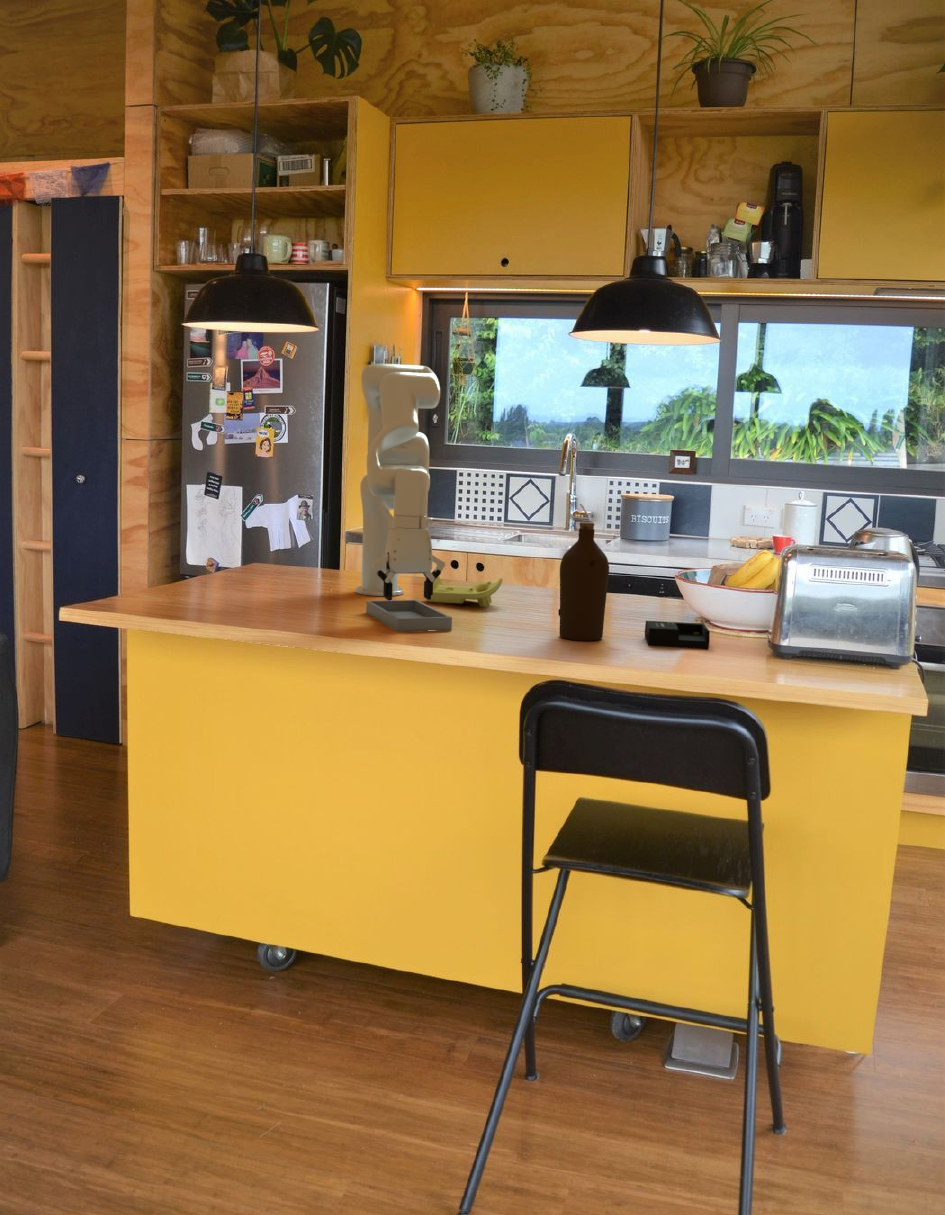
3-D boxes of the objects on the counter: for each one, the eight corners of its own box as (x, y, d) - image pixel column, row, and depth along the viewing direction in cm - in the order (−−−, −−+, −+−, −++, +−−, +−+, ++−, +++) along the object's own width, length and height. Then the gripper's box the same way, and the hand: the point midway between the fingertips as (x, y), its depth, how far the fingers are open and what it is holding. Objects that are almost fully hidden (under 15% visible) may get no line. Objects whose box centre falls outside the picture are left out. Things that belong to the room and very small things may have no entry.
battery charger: (647, 646, 242) (648, 628, 241) (644, 638, 252) (645, 620, 251) (709, 649, 241) (710, 631, 241) (703, 641, 251) (704, 623, 250)
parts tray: (366, 613, 267) (366, 600, 267) (416, 612, 272) (416, 599, 271) (397, 632, 245) (397, 618, 244) (451, 630, 249) (451, 617, 249)
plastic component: (419, 591, 286) (438, 571, 293) (426, 616, 289) (445, 596, 297) (487, 595, 276) (505, 574, 283) (494, 620, 279) (511, 599, 287)
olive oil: (615, 638, 248) (621, 524, 244) (583, 643, 241) (589, 525, 237) (578, 630, 255) (584, 519, 251) (546, 635, 248) (552, 521, 244)
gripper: (440, 521, 261) (438, 595, 264) (368, 521, 255) (366, 597, 258) (452, 524, 254) (449, 600, 257) (377, 524, 248) (375, 602, 251)
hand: (408, 598), depth 258 cm, fingers open, 8 cm apart
